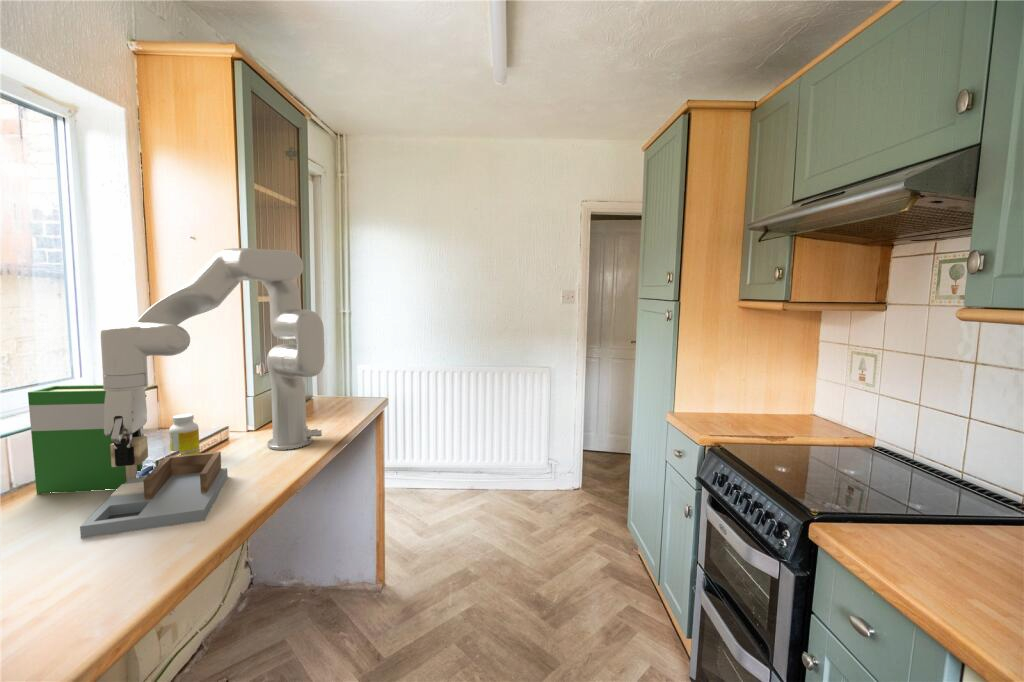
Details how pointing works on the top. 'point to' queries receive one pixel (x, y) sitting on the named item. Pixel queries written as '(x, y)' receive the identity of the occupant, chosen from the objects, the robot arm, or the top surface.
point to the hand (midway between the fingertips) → (130, 460)
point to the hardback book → (73, 441)
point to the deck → (154, 505)
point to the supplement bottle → (184, 435)
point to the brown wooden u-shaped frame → (183, 471)
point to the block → (139, 450)
